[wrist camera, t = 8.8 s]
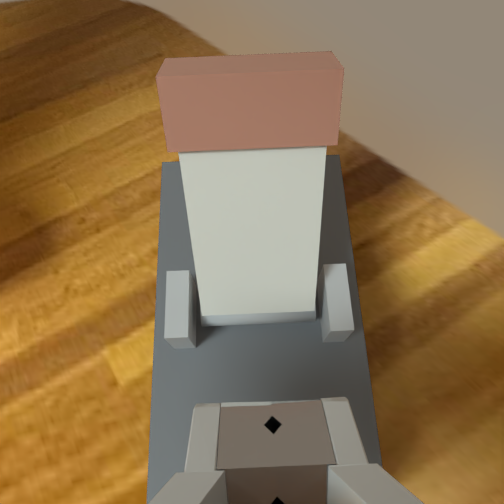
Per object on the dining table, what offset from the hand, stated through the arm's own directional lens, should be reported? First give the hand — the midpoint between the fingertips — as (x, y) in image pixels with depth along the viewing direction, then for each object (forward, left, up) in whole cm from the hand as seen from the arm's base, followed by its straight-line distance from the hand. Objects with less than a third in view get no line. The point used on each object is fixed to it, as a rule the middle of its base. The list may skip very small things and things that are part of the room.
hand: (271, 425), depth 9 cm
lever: (0, +5, -10) cm, 12 cm away
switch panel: (0, +5, -16) cm, 17 cm away
